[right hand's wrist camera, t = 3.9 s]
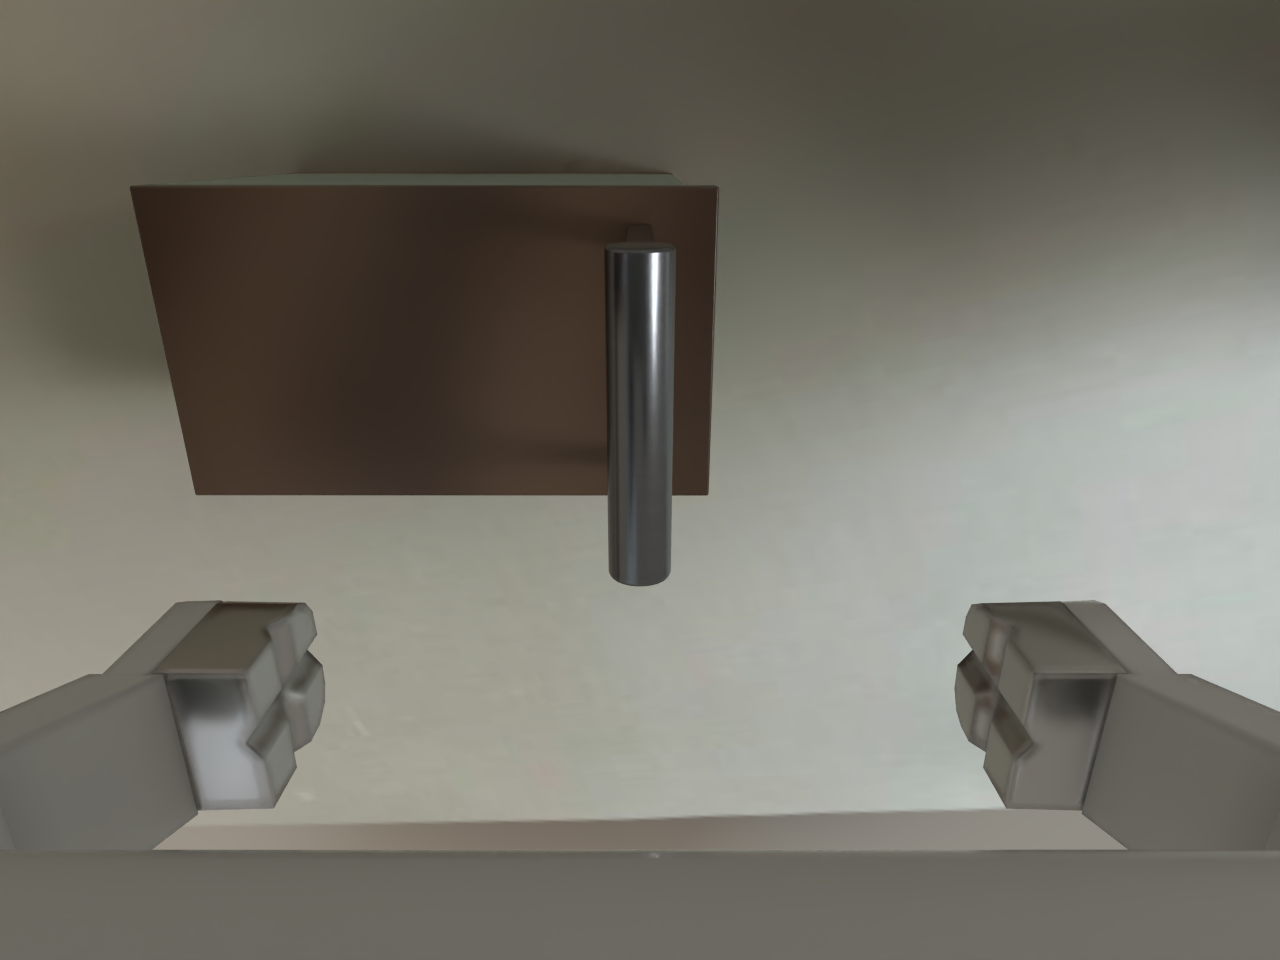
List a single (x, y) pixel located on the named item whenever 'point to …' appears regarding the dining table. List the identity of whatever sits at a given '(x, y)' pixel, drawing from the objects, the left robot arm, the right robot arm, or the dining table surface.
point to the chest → (446, 179)
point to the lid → (444, 342)
